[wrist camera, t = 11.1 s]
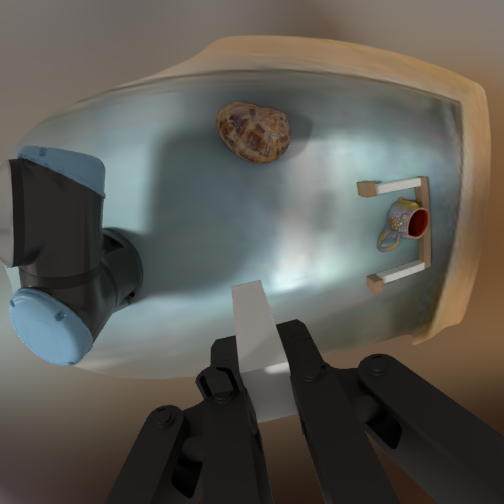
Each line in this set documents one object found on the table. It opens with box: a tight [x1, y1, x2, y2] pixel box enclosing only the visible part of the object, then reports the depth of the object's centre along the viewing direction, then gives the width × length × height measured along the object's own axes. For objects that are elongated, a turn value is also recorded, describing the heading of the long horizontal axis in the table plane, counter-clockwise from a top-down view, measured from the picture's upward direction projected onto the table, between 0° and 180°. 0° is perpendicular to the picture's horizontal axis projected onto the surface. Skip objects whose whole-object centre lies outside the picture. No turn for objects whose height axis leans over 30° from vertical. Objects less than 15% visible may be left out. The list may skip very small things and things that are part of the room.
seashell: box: [216, 102, 290, 164], centre depth 39 cm, size 10×9×10 cm
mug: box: [376, 197, 429, 252], centre depth 46 cm, size 12×7×7 cm, turn 130°
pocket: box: [357, 176, 431, 294], centre depth 48 cm, size 16×21×3 cm
